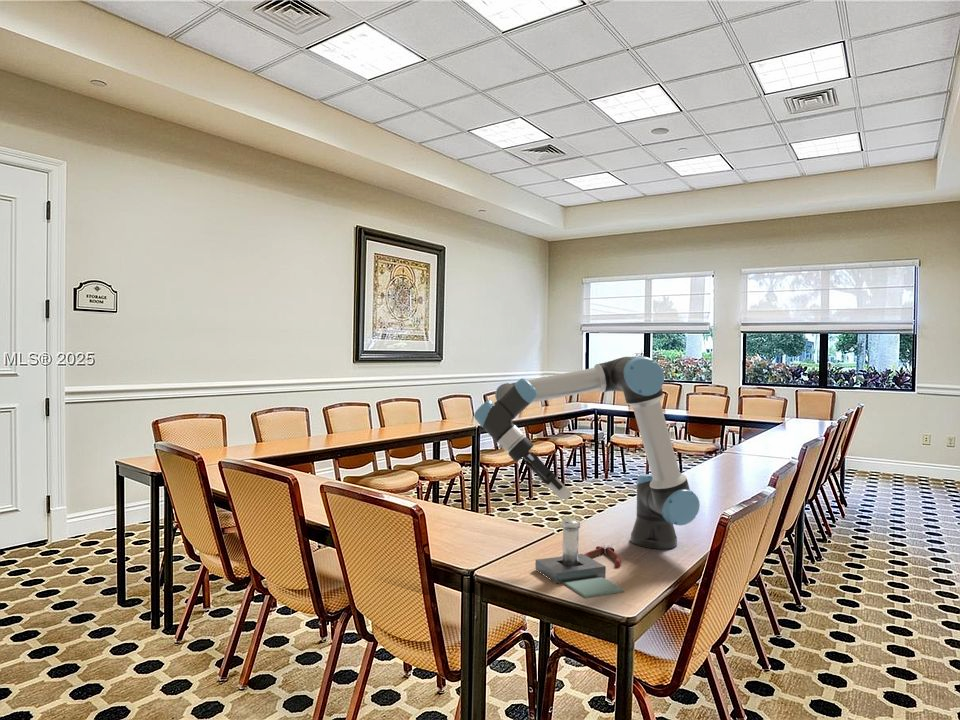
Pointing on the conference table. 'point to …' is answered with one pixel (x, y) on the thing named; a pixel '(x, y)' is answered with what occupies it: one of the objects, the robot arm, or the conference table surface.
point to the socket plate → (570, 569)
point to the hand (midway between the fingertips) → (566, 497)
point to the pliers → (605, 550)
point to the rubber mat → (593, 587)
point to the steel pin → (570, 542)
